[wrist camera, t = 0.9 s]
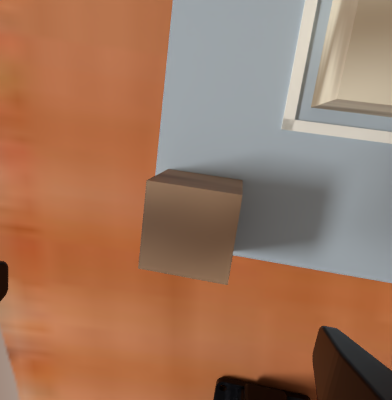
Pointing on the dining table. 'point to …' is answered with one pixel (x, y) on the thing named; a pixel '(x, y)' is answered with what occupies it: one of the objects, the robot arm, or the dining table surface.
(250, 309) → the dining table surface
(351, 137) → the build board
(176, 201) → the walnut cube
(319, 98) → the beech block
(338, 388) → the robot arm
